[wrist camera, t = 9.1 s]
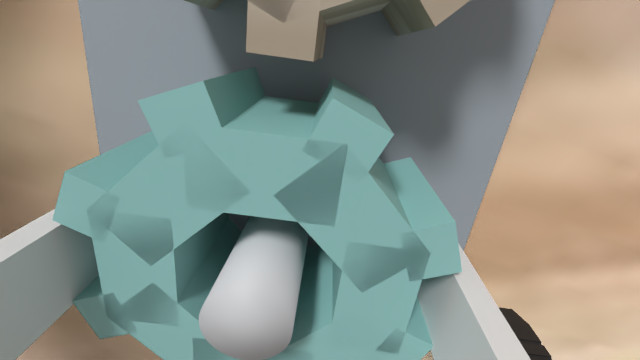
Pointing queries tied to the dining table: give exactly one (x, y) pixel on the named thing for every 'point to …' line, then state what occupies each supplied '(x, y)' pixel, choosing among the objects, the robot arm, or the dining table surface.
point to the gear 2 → (260, 201)
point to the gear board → (309, 85)
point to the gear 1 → (327, 21)
